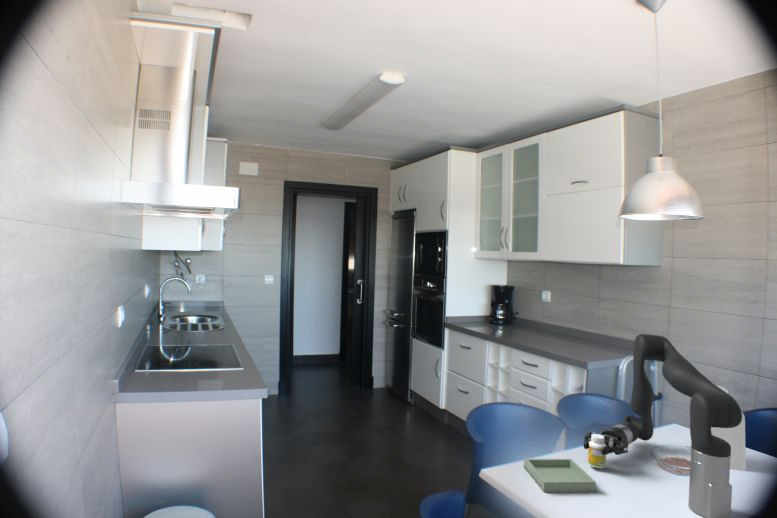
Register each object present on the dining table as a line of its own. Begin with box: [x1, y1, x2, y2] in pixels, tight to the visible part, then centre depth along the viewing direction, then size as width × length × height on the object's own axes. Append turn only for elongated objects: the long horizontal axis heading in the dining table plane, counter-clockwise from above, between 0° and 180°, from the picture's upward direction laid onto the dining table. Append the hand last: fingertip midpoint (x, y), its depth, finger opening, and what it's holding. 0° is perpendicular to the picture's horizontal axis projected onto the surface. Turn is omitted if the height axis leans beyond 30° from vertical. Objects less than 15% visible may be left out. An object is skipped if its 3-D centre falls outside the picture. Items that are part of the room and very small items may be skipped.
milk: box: [711, 385, 747, 472], centre depth 168 cm, size 12×12×26 cm
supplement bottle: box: [587, 433, 607, 469], centre depth 159 cm, size 5×5×10 cm
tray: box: [523, 458, 597, 493], centre depth 150 cm, size 16×16×3 cm
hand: (593, 448), depth 157 cm, fingers closed on supplement bottle, 5 cm apart
